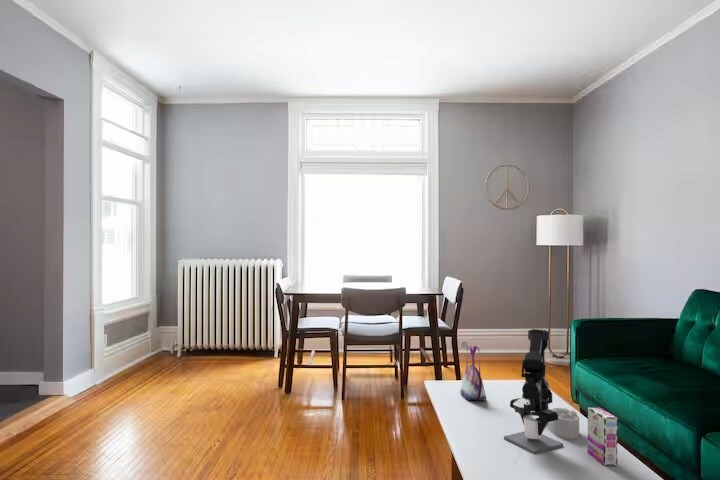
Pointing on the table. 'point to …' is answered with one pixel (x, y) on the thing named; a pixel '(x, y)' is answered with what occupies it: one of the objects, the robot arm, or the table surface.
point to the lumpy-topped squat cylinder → (565, 424)
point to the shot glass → (531, 427)
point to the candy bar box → (602, 436)
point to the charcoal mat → (533, 442)
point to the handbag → (472, 380)
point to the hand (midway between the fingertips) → (533, 432)
